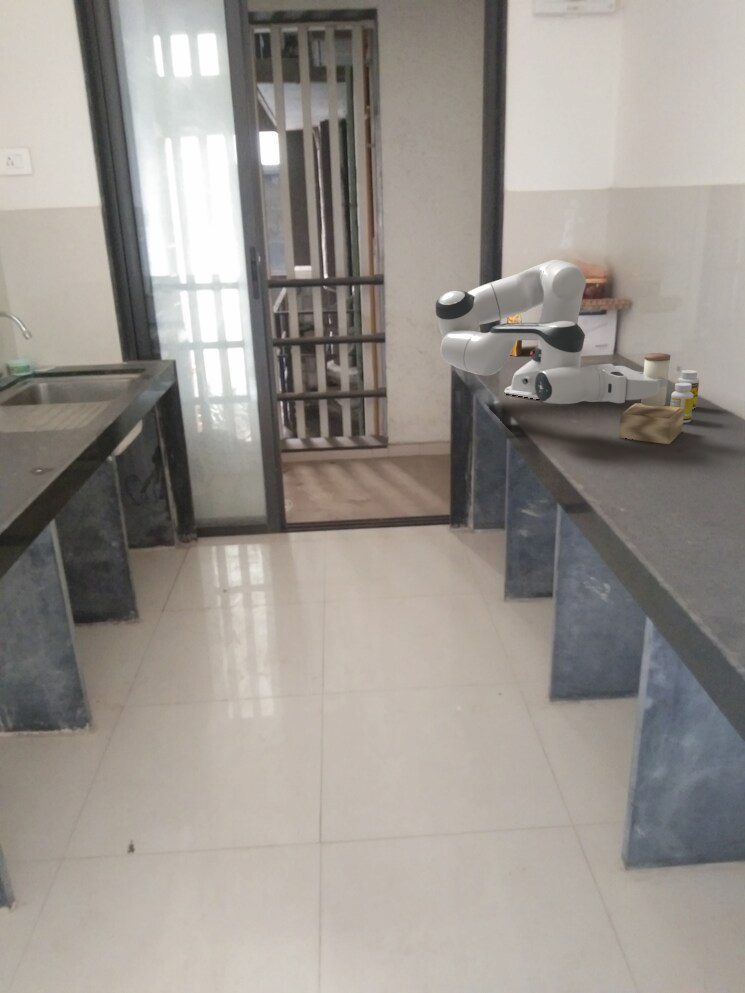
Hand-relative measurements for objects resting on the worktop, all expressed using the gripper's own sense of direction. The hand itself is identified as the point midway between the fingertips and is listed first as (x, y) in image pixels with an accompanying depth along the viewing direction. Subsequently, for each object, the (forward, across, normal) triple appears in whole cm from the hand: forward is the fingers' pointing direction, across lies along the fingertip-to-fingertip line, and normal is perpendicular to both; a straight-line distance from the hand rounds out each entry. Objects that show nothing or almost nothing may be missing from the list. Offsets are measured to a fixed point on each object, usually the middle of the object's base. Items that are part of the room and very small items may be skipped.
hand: (658, 378), depth 187 cm
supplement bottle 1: (+20, -22, -14) cm, 33 cm away
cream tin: (-1, 0, -6) cm, 6 cm away
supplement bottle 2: (+12, -10, -14) cm, 21 cm away
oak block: (-1, 0, -14) cm, 14 cm away
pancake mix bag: (+1, -117, -14) cm, 118 cm away
